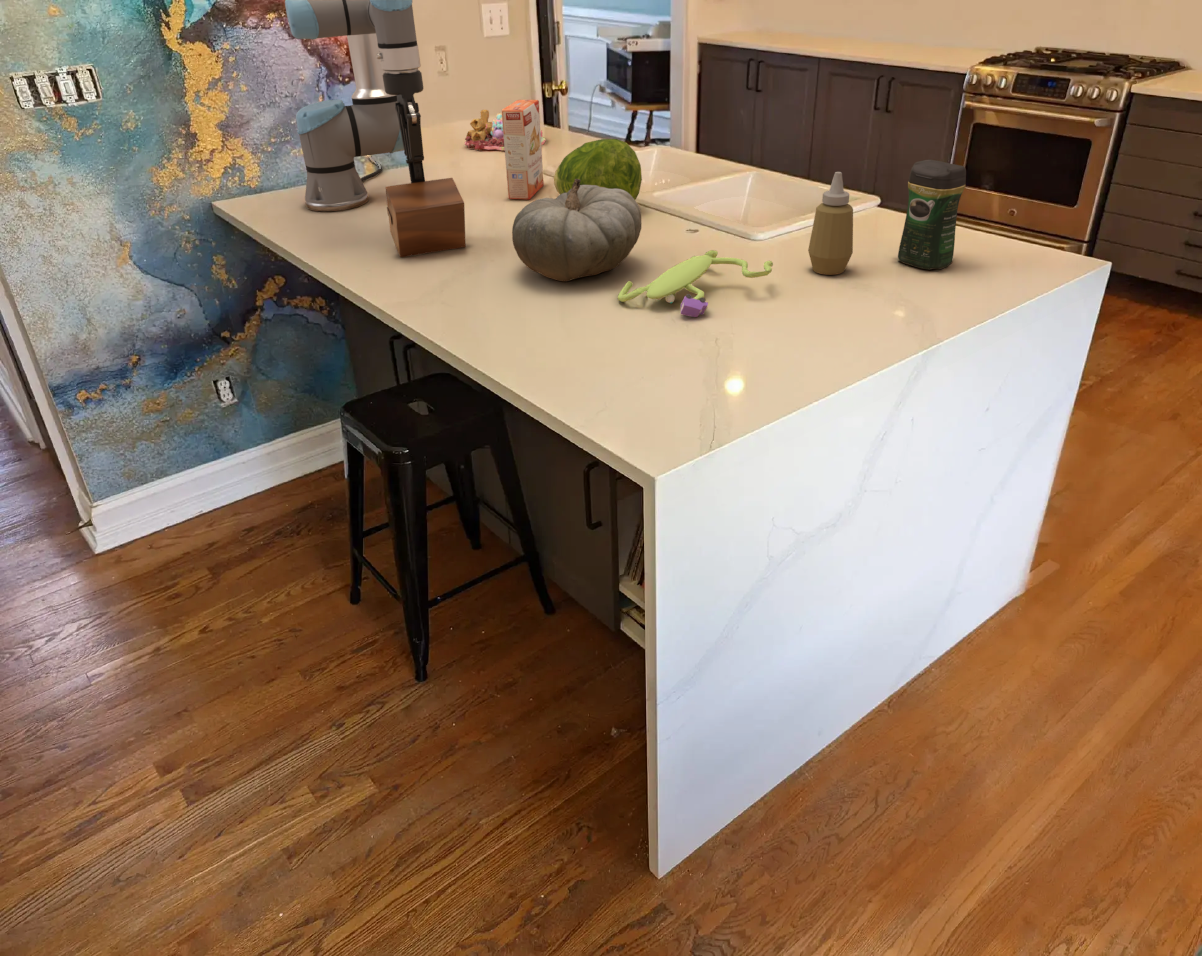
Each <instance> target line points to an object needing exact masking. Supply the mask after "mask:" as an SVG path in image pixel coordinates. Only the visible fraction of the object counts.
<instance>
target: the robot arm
mask: <svg viewBox="0 0 1202 956" xmlns="http://www.w3.org/2000/svg"><path fill="white" fill-rule="evenodd" d="M284 6H285V12H286V16H287V21H288V26H289V30H290V33H291V36H293V38H295V39H297V40H317V39H323V38H324V39H326V38H334V37H347V43H348V44H347V45H348V49H349V55H350V61H351V66H352V71H353V76H354V77H353V78H354V83H355V90H354V92H353V93H352V94H351V103H352V104H349V105H345V103H344V101H343V100H342V99H337V98H336V99H327V100H322V101H318V102H314V103H311V104H308V105H306V106H303V107H301V108H299V110H298V111H297V112H296V114H295V121H296V127H297V130H296V132H297V135H298V137H299V140H300V146H301V151H302V155H303V160H304V165H305V170H306V183H305V193H304V202H305V207H306V208H307V209H308V210H310V211H313V212H338V211H339V212H341V211H345V210H350V209H351V210H352V209H354V208H358V207H361V206H364V205H366V204H367V203H368V202H369V200H370V199H369V192H368V190H367V189H366V187H365V185H364V182H365V181H367V180H369V179H371V178H374V177H376V176H378V175H379V174H381V173H382V171H383V167H382V166H381V169H378V168H379V166H377V170H375V171H374V172H371V173H369V174H366V175H364V176H362V177H361V176H360V175H359V173H358V170H357V169H356V163H355V158H359V157H366V156H367V155H371V156H375V155H381V154H382V155H383V154H391V155H392V154H393V153H397V152H404V156H406V157H405V158H406V159H405V164H407V166H408V173H409V180H410V183H416V182H424V181H426V178H425V172H424V171H425V170H424V163H423V161H425V156H424V155H425V154H424V146H423V145H424V144H423V136H422V135H423V134H422V123H421V121H422V120H421V117H422V115H421V113H420V108H419V103H418V102H416V100H415V96H414V95H415V94H419V93H422V92H423V91H424V81H423V73H422V71H421V70H420V68H421V66H422V64H421V57H420V51H419V44H418V40H417V33H416V24H415V18H414V7H413V0H285V1H284ZM367 157H368V156H367Z"/></svg>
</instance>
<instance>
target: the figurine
mask: <svg viewBox="0 0 1202 956" xmlns="http://www.w3.org/2000/svg"><path fill="white" fill-rule="evenodd" d="M718 255H719V253H718V250H713V249H711V250H708V251H706V252H705V253H704V254H703V255H693V256H691V257H689V258H688V259H686V260H683V261H682V262H679V263H677V264H676V265H674V266H672V267H670V268H669V269H667V270H666V271H664V272H663V273H661V274H660V275H659V276H658V277H657V278H655V279H654V280H653V281H651V282H650V283H648V284H647V285H645V286H641V287H638V288H636V289H634V290H632V291H631V288H632V287H633V282H632V281H630V280H628V281H627V282H626V283H625V285H623V287H622V289H621V290H620V291H619V293H618V295H617V299H618V301H619V302H621V303H626V302H628V301H631V300H634V299H635V298H637V297H639V296H640V295H642V294H644V293H645V292H646V295H645V296H646V298H648V299H650V300H656V301H661V300H662V299H663V298H665V302H667V303H669V304H673V303H674V301H675V300H676V299H675V297H676V293H678V292H680V291H682V290H683V289H686V290H687V292H690V293H692V294H694V295H695V294H696V296H694V297H692V294H690V293H686V295H684V297H683V300H682V301H681V303H680V304H679V305H680V315H682V316H686V317H687V316H688V317H693V318H698V317H699V316H700V315H704V314H705V312H706V310H707V308H708V306H709V302H707V301H706V298H705V291H703V290H702V289H700V288H698V287H696V286H694V285H693V283H695V282H696V281H697V280H698V279H700V278H701V277H702V276H703V275H705V274H706V272H707V271H708V270H709V268H710V266H711V265H733V266H734V265H736V266H740V267H741V274H742V276H743V277H745V278H750V279H753V278H761V277H766V276H768V275H770V274H771V273H772V272H773V271H772V270H773V268H772V267H773V266H774V262H773V261H772V260H767V261H764V262H763V269H764V270H763V271H749V270H748V267H749V263H748V262H747V260H744V259H742V258H737V257H717V256H718ZM629 291H630V292H629Z"/></svg>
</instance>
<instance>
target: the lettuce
mask: <svg viewBox="0 0 1202 956" xmlns="http://www.w3.org/2000/svg"><path fill="white" fill-rule="evenodd" d="M641 165H642V164H641V163H640V160H639V158H638V155H637V152H636V151H635V150H634V148H632V147H631V146H630V145H629V144H628V143H627V142H626V141H623V140H621V139H619V138H601V139H596V140H592V141H587V142H584V143H583V144H582V145H580V146H578V147H577V148H575V149H573V150H572V151H571V152H569V153H568V154H567V155H565V156H564V157H563V159H562V161H561V162H560V163H559V165H558V166H557V168H556V169H555V171H554V175H553V185H554V188H555V190H556V192H557V193H558V194H559V195H560V194H562V193H567V192H568V191H569V190H570V189H572V186H573V183H574V181H575V179H580V180H581V181H580V185H596V186H599V187H605V188H608V189H621V190H624V191H626V192H628V193H629V194H630V195H631V196H632V197H633V198H634V200H635V201H636V200H637V198H638V196H639V195H640V191H641V187H642V186H641V185H642V180H643V179H642V178H643V177H642V176H643V175H642V166H641Z"/></svg>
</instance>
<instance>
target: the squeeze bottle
mask: <svg viewBox="0 0 1202 956" xmlns="http://www.w3.org/2000/svg"><path fill="white" fill-rule="evenodd" d="M821 201H822V203H820V204H819V205H818V206H816V208H815V214H814V218H813V223H812V229H811V235H810V239H809V244H808V249H807V251H808V256H809V259H810V264H811V267H812V271H813V272H814V273H817V274H820V275H825V276H826V275H827V276H835V275H840V274H842V273H844V272H845V270H846V268H847V266H848V264H849V262H850V261H851V258H852V255H853V254H854V253H853V251H854V250H853V249H854V207H853V206H852V205H851V204H849V202H850V193H849V192H848V191H845V189H844V182H843V173H842V172H841V171H835V172H834V174H833V177H832V181H831V184H830V186H829V190H826V191H824V192H822V199H821Z"/></svg>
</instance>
